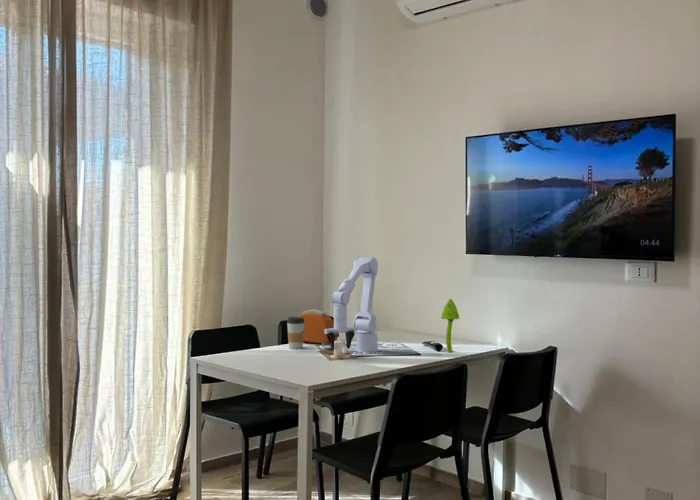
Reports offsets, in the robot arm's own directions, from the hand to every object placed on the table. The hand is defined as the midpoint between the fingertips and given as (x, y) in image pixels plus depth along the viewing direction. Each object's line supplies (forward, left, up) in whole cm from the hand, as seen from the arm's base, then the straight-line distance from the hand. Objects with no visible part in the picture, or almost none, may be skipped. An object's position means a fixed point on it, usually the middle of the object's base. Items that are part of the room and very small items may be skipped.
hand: (340, 348), depth 310 cm
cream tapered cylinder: (0, +1, -3) cm, 3 cm away
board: (0, -5, -4) cm, 6 cm away
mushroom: (-53, -1, -4) cm, 53 cm away
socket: (0, -10, -3) cm, 11 cm away
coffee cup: (+15, -27, -4) cm, 31 cm away
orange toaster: (+3, -42, -4) cm, 42 cm away
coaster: (0, 0, -3) cm, 3 cm away
